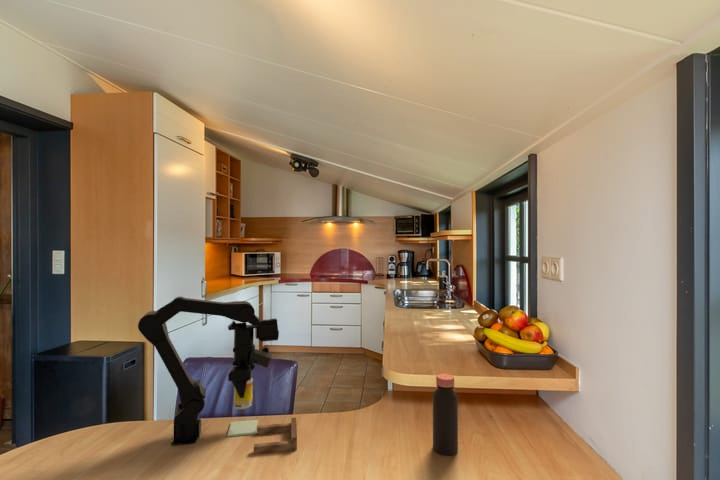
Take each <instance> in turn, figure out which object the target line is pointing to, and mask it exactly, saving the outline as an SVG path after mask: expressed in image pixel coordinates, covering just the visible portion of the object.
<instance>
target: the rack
mask: <svg viewBox="0 0 720 480" xmlns="http://www.w3.org/2000/svg"><path fill="white" fill-rule="evenodd" d="M290 419H291V420H290V422H286V423H285V422H284V423H274V424H272V423H271V424H263V425H262V424H261V425H257V428H256V435H257V436H261V435H262V436H263V435H269V434H270V433H273V434H281V432H284V433H291V434H290V438H291V439H290V440H284V441H283V440H281V441H273V442H272V441H271V442H260V443H254V444H253V455H262V454H271V453H272V454H273V453H281V452H282V453H283V452H292V451H297V450H298V433H297V432H298V428H297V417H291V418H290ZM279 432H280V433H279Z"/></svg>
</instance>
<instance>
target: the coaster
mask: <svg viewBox="0 0 720 480" xmlns="http://www.w3.org/2000/svg"><path fill="white" fill-rule="evenodd" d="M258 421H259V420H258V419H252V420H250V419H249V420H241V421H231V423H230V426H229V429H228V432H227V436H226V437H227V438H228V437H240V436H251V435H257V426H258Z"/></svg>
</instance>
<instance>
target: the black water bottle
mask: <svg viewBox="0 0 720 480" xmlns="http://www.w3.org/2000/svg"><path fill="white" fill-rule="evenodd" d="M435 381H436V382H435V383H436V389H435V390H434V391H433V393H432V447H433V450H434V451H435V452H436V453H438V454H440V455H442V456H443V455H444V456H453V455H455V454H456V453H458V450H459V399H458V398H459V397H458V394H457V392H456V391H455V390H454V389H455V376H453V375H452V374H449V373H438V374H437V375H436V377H435Z"/></svg>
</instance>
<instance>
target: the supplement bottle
mask: <svg viewBox="0 0 720 480" xmlns="http://www.w3.org/2000/svg"><path fill="white" fill-rule="evenodd" d="M253 386H254V380H253V377H251V379H250V380H248V381H247V384H246V389H245V394H244V398H240V397H239V395H238V393H237V391H236V388H235V386H234V385H233V407H234V408H235V409H236V410H244V409H249V408H250V407H251V406H253V398H254V397H253V396H254V395H253V393H254V390H253V388H254V387H253Z"/></svg>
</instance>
